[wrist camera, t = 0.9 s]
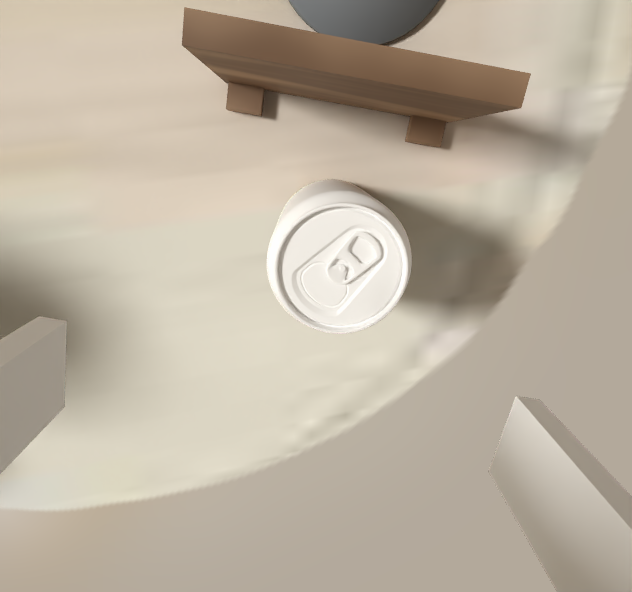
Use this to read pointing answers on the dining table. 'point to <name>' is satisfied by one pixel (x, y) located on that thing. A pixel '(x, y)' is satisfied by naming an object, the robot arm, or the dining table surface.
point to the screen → (348, 73)
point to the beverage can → (338, 258)
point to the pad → (363, 17)
